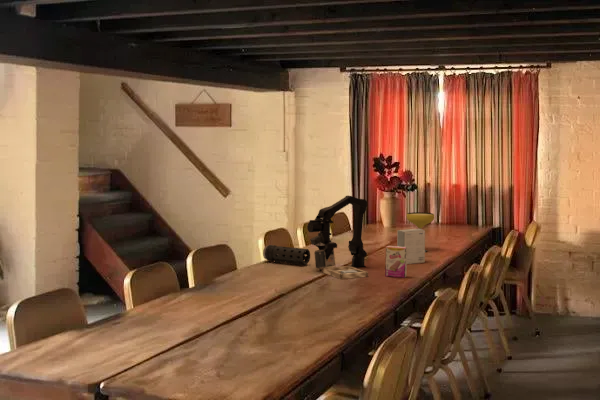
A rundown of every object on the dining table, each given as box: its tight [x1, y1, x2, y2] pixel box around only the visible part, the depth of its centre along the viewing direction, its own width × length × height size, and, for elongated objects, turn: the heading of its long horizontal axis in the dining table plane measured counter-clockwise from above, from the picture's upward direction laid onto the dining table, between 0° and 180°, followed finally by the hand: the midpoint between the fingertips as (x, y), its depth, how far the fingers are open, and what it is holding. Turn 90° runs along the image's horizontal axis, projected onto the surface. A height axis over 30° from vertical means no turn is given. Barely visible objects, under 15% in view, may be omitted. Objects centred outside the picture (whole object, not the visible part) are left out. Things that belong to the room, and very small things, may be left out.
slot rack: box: [322, 265, 369, 280], centre depth 409 cm, size 17×20×2 cm
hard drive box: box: [396, 228, 426, 265], centre depth 449 cm, size 16×8×20 cm, turn 115°
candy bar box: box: [384, 245, 408, 279], centre depth 405 cm, size 11×5×16 cm, turn 71°
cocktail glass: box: [406, 211, 435, 253], centre depth 494 cm, size 18×18×25 cm
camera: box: [313, 248, 336, 269], centre depth 422 cm, size 11×6×10 cm, turn 114°
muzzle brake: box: [262, 244, 311, 267], centre depth 442 cm, size 10×28×10 cm, turn 59°
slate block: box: [341, 270, 358, 274], centre depth 405 cm, size 8×5×3 cm, turn 109°
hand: (324, 258), depth 422 cm, fingers closed on camera, 5 cm apart
